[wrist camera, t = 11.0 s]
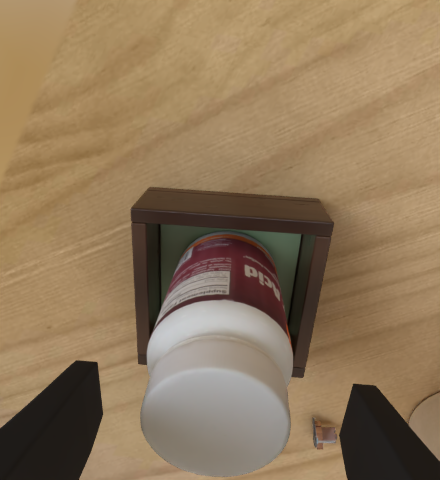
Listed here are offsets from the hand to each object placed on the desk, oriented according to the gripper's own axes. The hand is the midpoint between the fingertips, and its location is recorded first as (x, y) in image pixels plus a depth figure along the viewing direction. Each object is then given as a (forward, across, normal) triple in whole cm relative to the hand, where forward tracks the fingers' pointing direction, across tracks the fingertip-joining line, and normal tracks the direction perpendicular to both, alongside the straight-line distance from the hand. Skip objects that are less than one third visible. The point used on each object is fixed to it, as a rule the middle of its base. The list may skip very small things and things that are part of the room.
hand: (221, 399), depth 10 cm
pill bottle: (+8, 0, 0) cm, 8 cm away
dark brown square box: (+8, 0, 0) cm, 8 cm away
